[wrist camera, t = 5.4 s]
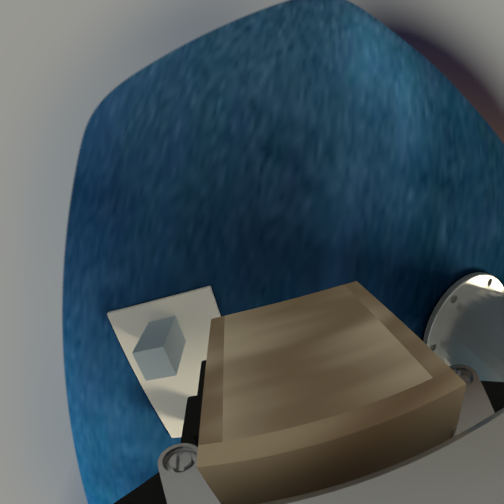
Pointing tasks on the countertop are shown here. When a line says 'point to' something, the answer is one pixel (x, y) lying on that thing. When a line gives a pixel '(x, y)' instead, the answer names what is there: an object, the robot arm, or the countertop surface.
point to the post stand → (168, 348)
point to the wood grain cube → (318, 396)
